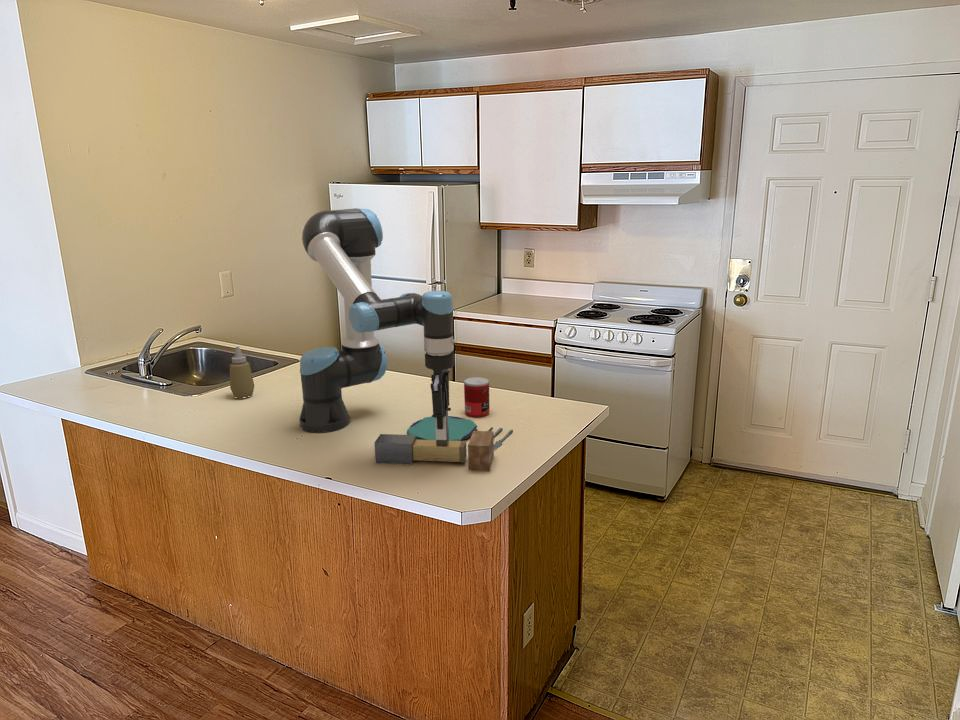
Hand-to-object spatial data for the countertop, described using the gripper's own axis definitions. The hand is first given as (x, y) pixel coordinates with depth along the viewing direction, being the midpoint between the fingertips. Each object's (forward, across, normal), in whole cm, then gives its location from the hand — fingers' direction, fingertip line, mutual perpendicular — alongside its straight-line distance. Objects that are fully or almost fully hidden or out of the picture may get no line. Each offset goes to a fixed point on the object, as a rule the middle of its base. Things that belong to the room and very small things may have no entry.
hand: (442, 436), depth 182 cm
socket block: (+7, 0, -10) cm, 13 cm away
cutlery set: (+8, +19, -1) cm, 20 cm away
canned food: (+7, +37, -4) cm, 38 cm away
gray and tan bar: (+7, 0, +5) cm, 9 cm away
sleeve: (+7, 0, +13) cm, 15 cm away
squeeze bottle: (+7, +47, +80) cm, 93 cm away
